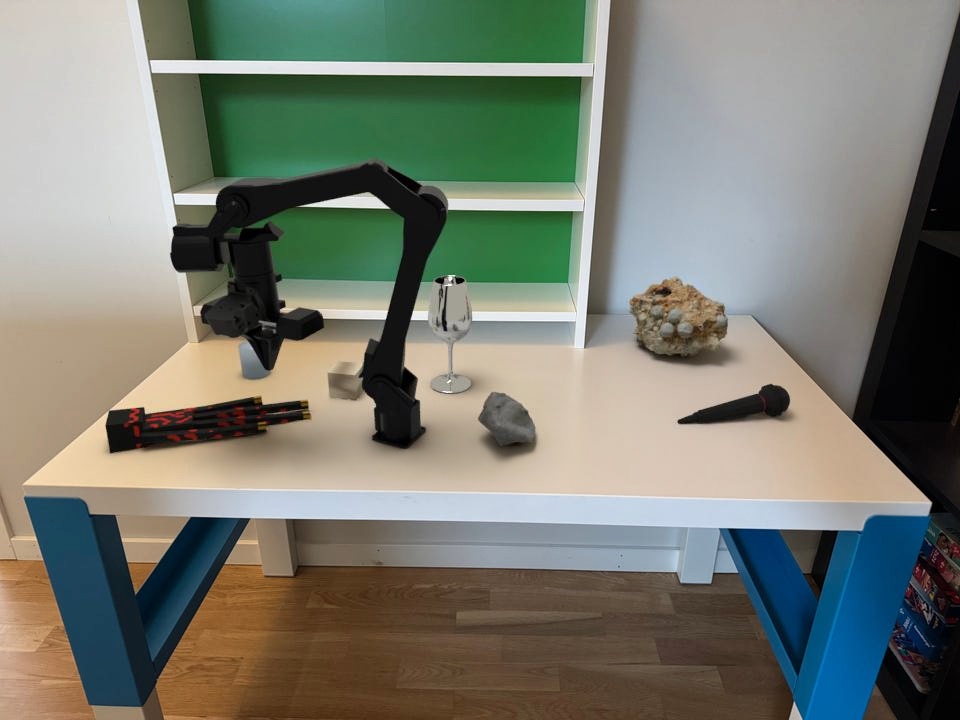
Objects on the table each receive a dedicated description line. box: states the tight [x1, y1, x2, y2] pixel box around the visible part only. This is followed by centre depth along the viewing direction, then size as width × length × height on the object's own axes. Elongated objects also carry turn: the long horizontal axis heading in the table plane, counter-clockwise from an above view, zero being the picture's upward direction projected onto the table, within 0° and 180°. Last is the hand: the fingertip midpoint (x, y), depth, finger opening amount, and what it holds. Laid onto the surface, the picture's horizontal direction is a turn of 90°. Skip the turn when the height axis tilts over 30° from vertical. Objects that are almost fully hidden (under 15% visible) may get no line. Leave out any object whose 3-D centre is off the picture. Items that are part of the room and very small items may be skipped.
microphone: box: [677, 383, 791, 425], centre depth 116 cm, size 6×6×20 cm
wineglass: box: [427, 275, 473, 394], centre depth 123 cm, size 8×8×20 cm
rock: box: [628, 275, 729, 357], centre depth 140 cm, size 19×19×15 cm
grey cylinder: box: [237, 340, 271, 381], centre depth 129 cm, size 5×5×6 cm
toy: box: [105, 395, 312, 454], centre depth 110 cm, size 8×5×30 cm
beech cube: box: [327, 360, 365, 401], centre depth 122 cm, size 5×5×5 cm
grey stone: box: [477, 391, 536, 447], centre depth 107 cm, size 11×9×8 cm
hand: (269, 369), depth 105 cm, fingers closed
